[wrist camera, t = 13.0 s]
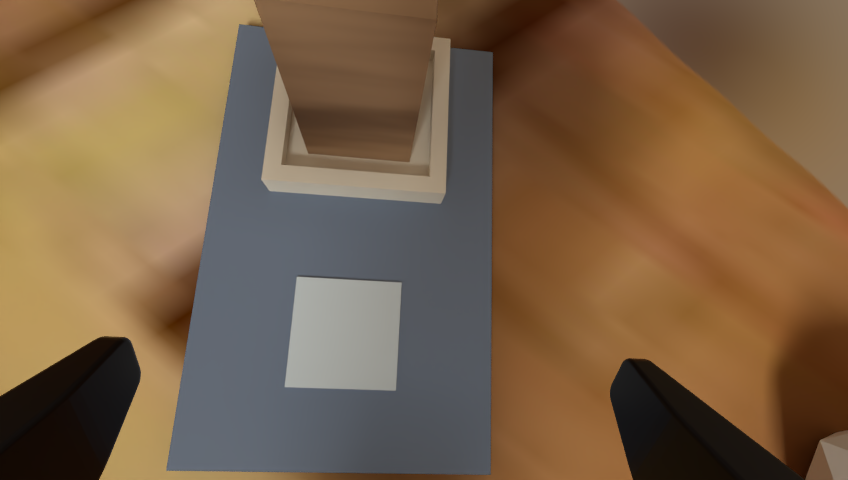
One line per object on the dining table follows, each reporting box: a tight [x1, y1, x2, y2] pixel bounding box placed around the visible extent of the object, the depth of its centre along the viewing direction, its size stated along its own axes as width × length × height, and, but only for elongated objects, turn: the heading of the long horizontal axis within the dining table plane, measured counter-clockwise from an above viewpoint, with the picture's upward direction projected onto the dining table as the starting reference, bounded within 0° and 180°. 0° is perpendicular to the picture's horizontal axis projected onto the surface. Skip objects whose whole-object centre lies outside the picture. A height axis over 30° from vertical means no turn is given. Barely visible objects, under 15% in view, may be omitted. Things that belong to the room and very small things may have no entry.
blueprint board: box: [166, 24, 493, 475], centre depth 21 cm, size 22×14×2 cm, turn 177°
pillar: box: [254, 0, 438, 162], centre depth 17 cm, size 5×5×10 cm
